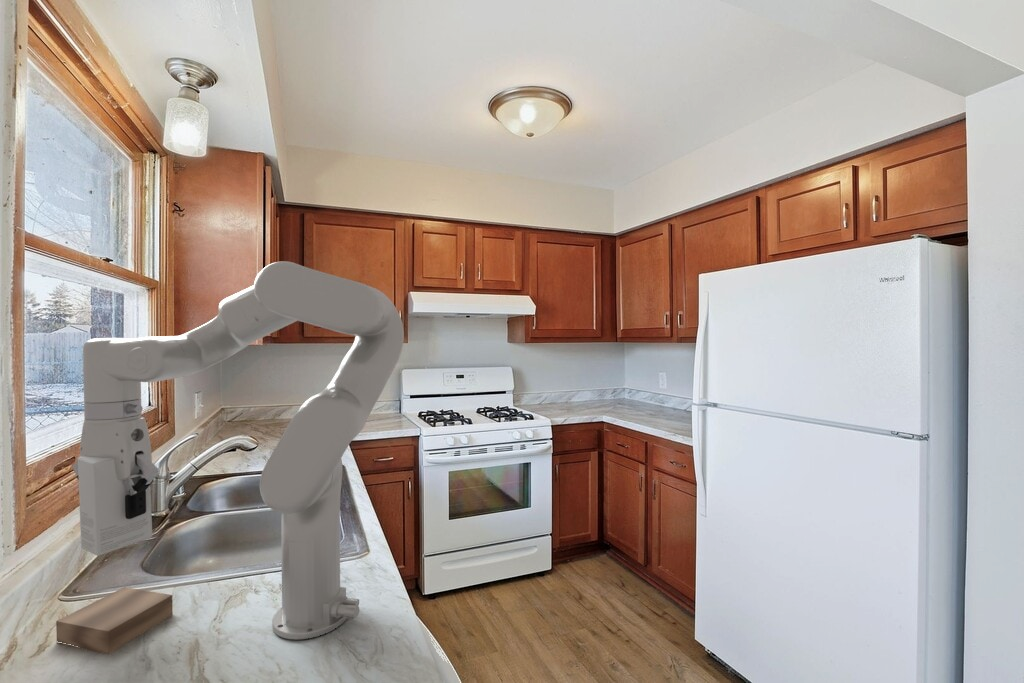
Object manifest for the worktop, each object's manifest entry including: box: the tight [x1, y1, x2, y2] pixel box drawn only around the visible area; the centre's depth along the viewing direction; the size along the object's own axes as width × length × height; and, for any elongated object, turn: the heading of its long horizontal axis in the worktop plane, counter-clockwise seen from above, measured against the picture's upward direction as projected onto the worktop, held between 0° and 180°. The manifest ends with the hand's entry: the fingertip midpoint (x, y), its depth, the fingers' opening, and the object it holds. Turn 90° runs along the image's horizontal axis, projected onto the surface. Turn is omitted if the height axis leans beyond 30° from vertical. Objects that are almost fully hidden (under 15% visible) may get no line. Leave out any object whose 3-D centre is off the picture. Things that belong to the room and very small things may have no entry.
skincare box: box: [77, 453, 153, 557], centre depth 84 cm, size 8×7×16 cm
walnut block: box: [55, 586, 174, 655], centre depth 84 cm, size 11×11×4 cm
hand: (115, 513), depth 84 cm, fingers closed on skincare box, 7 cm apart
